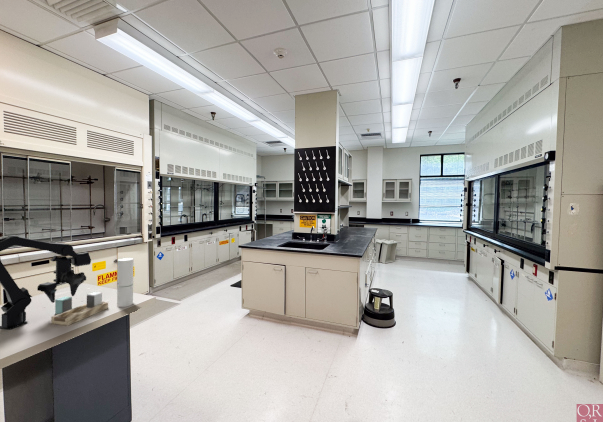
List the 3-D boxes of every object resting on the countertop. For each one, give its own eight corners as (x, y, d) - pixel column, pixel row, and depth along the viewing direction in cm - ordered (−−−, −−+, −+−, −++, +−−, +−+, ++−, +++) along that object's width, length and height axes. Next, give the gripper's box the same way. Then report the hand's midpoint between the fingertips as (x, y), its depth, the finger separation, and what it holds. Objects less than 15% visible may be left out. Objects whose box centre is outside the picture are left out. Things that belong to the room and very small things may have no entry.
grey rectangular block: (93, 309, 128) (93, 295, 128) (86, 308, 129) (86, 294, 129) (101, 305, 133) (102, 292, 133) (94, 304, 133) (94, 291, 133)
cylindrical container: (128, 300, 144) (129, 257, 143) (135, 303, 140) (136, 259, 140) (114, 304, 138) (115, 259, 137) (120, 307, 134) (121, 261, 134)
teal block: (55, 313, 126) (55, 299, 125) (65, 309, 130) (65, 296, 130) (62, 314, 125) (62, 300, 125) (72, 310, 130) (72, 297, 129)
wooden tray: (67, 325, 114) (67, 319, 114) (51, 323, 116) (51, 317, 116) (108, 307, 134) (108, 302, 134) (93, 306, 135) (93, 300, 135)
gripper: (56, 274, 116) (56, 308, 117) (95, 265, 135) (94, 294, 135) (36, 272, 118) (36, 305, 119) (77, 263, 137) (77, 292, 137)
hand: (63, 299), depth 127 cm, fingers open, 9 cm apart
